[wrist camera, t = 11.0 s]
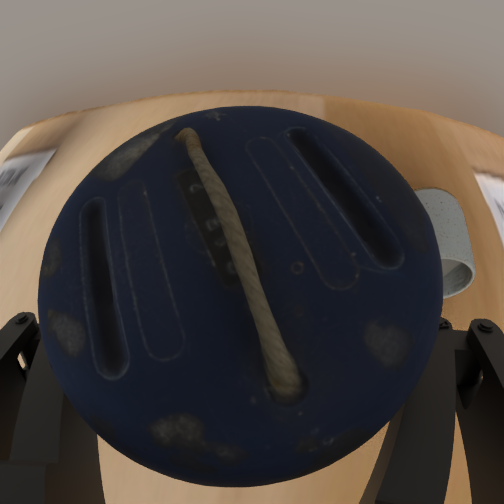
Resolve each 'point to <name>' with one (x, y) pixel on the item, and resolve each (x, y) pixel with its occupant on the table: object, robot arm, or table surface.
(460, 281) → the ceramic mug
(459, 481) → the table surface
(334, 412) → the canister
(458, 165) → the table surface
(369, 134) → the table surface
